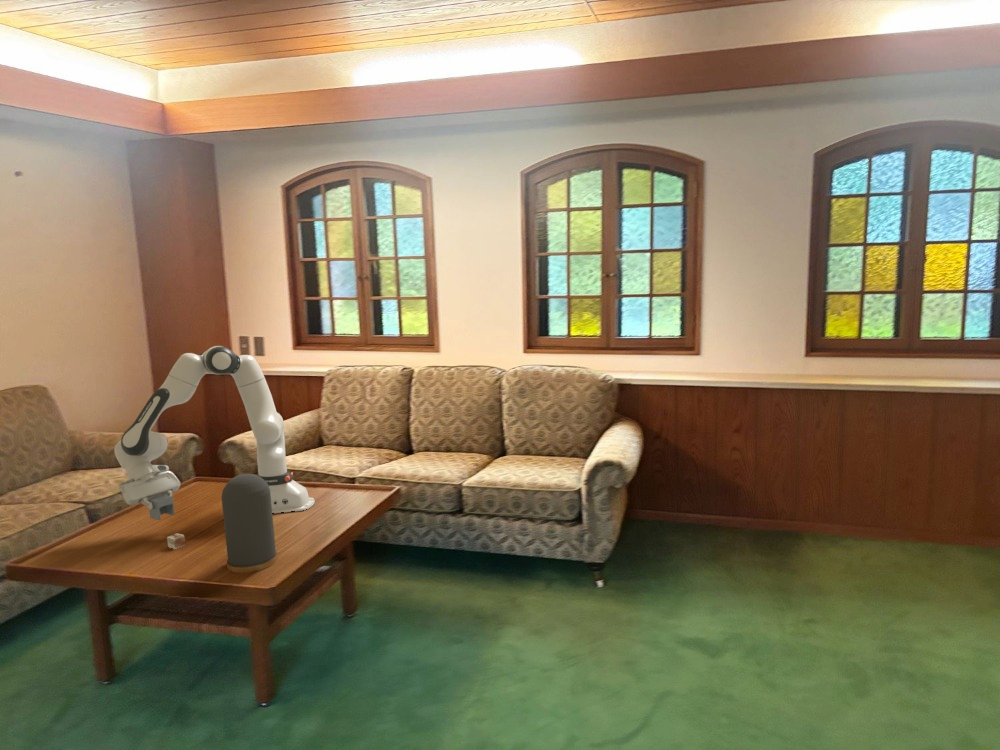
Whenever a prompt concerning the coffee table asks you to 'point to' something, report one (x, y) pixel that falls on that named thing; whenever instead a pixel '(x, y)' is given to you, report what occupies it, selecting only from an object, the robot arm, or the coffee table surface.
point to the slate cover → (161, 506)
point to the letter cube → (176, 541)
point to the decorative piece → (248, 524)
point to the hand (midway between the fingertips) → (162, 505)
